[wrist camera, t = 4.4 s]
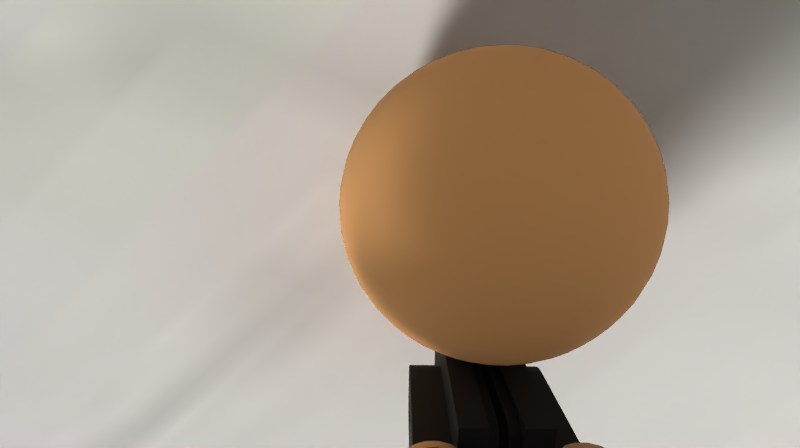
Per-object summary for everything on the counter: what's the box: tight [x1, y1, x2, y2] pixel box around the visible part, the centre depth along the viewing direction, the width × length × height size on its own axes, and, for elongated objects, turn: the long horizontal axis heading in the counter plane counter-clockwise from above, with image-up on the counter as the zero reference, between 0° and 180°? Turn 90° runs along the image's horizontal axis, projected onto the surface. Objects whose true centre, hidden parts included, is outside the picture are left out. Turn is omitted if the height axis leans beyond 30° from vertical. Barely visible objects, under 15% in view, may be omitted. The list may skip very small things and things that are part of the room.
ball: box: [339, 45, 669, 366], centre depth 8 cm, size 6×6×6 cm
